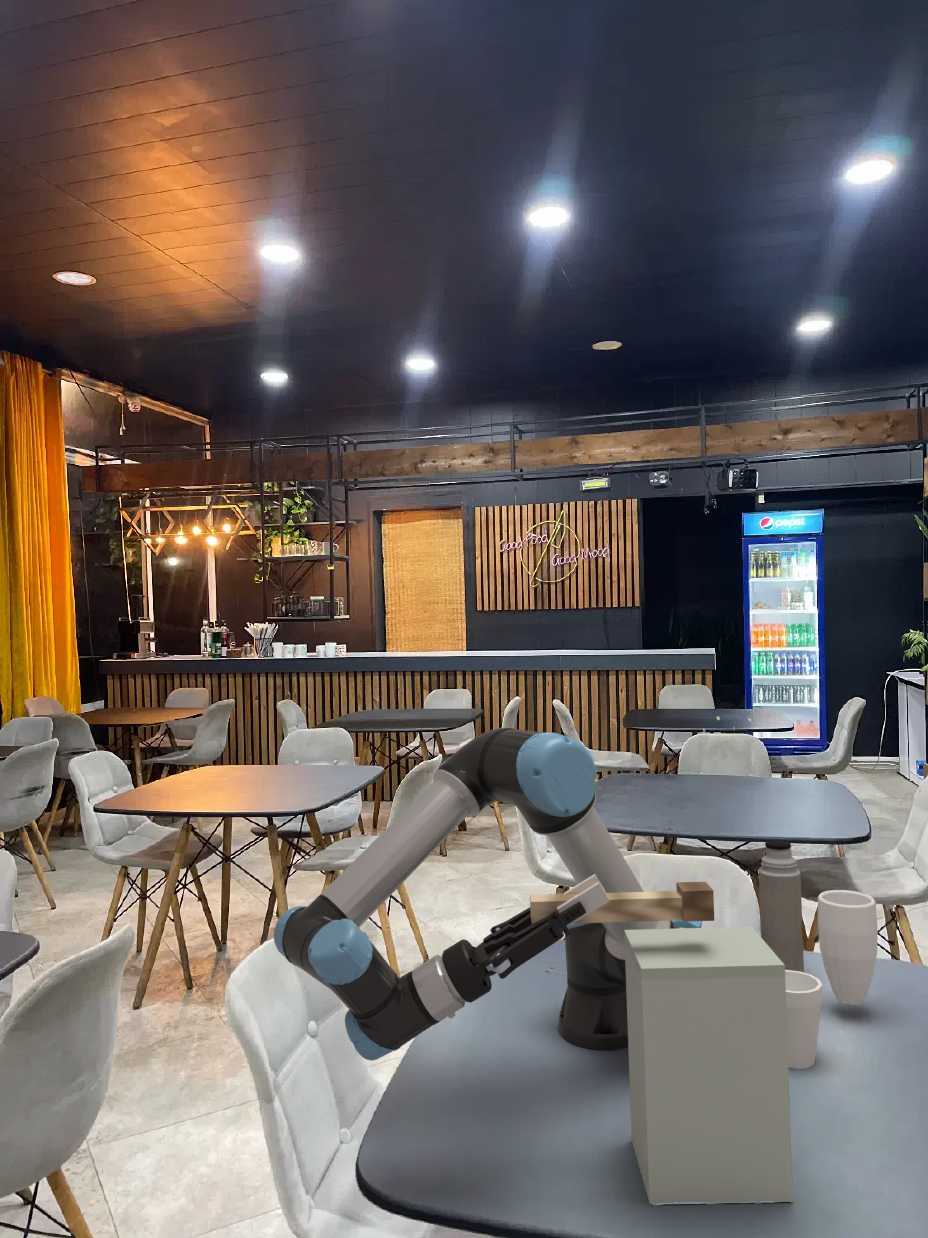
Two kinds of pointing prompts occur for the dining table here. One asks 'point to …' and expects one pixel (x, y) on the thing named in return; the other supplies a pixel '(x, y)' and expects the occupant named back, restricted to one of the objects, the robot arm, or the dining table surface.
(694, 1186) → the stand
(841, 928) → the cup
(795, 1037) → the foam cup
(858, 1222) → the dining table surface
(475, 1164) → the dining table surface
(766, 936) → the thermos bottle
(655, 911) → the beech bar
